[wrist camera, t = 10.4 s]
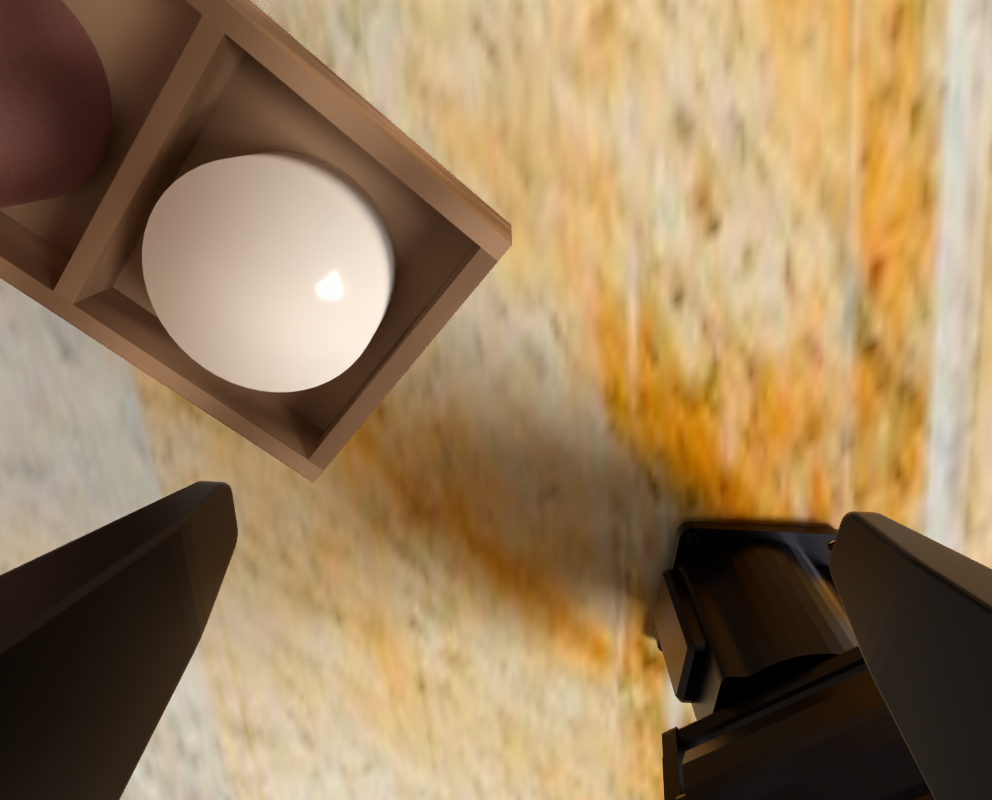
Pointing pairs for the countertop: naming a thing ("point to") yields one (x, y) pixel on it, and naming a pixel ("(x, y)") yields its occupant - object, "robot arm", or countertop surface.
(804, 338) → the countertop surface
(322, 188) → the cream rounded shiny part
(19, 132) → the beverage can
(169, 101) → the caddy
